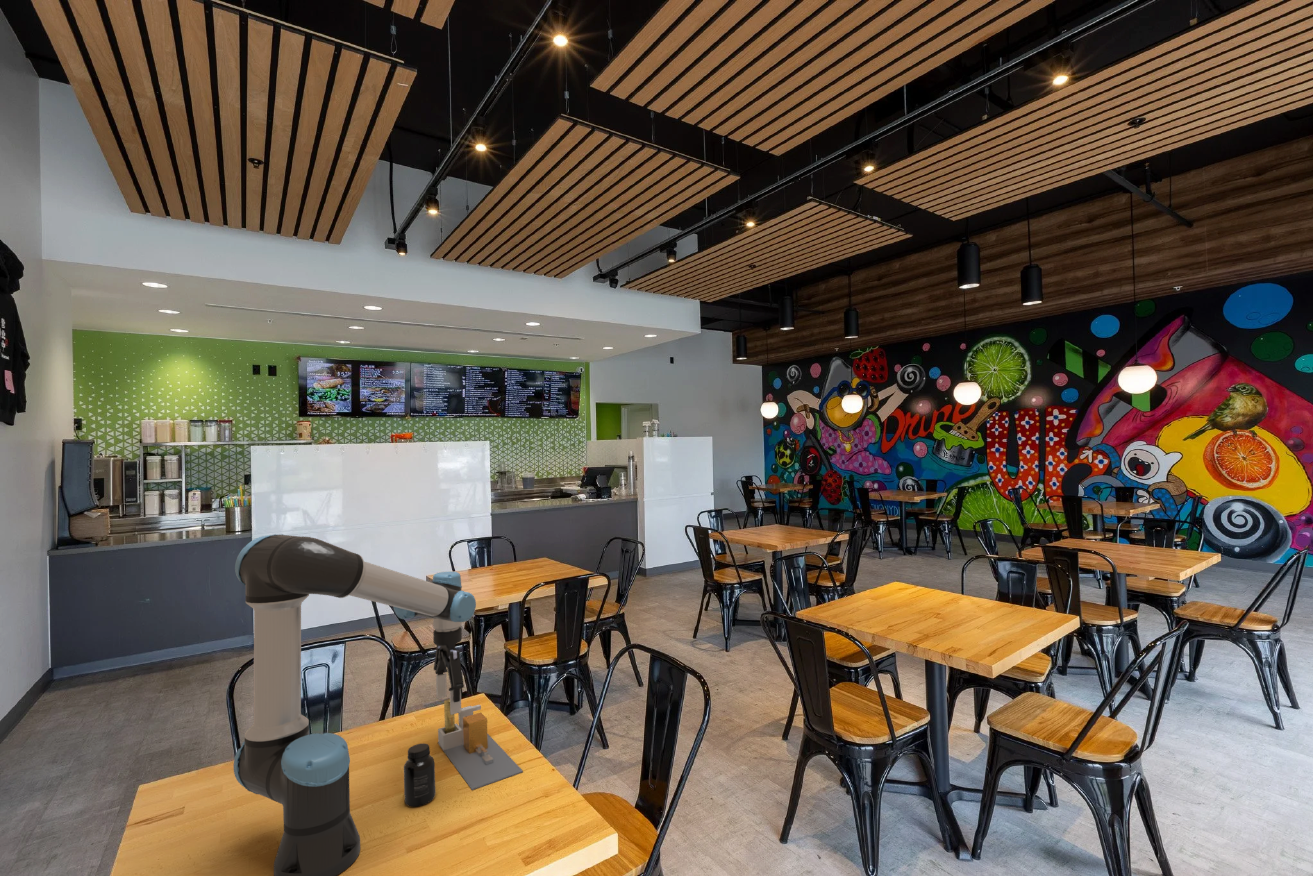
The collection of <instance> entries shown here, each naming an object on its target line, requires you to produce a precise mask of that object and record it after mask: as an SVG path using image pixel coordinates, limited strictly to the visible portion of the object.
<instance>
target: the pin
mask: <svg viewBox="0 0 1313 876" xmlns="http://www.w3.org/2000/svg"><path fill="white" fill-rule="evenodd" d="M443 707H444V708H443V709H444V711H443V712H444V713H443V714H444V727H445V734H447V733H450V732H454V731H455V724H456V721H455V719H456V718H455V717H456V716H455V714H452V715H451V714H450V698H447V699H444V700H443Z"/></svg>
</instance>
